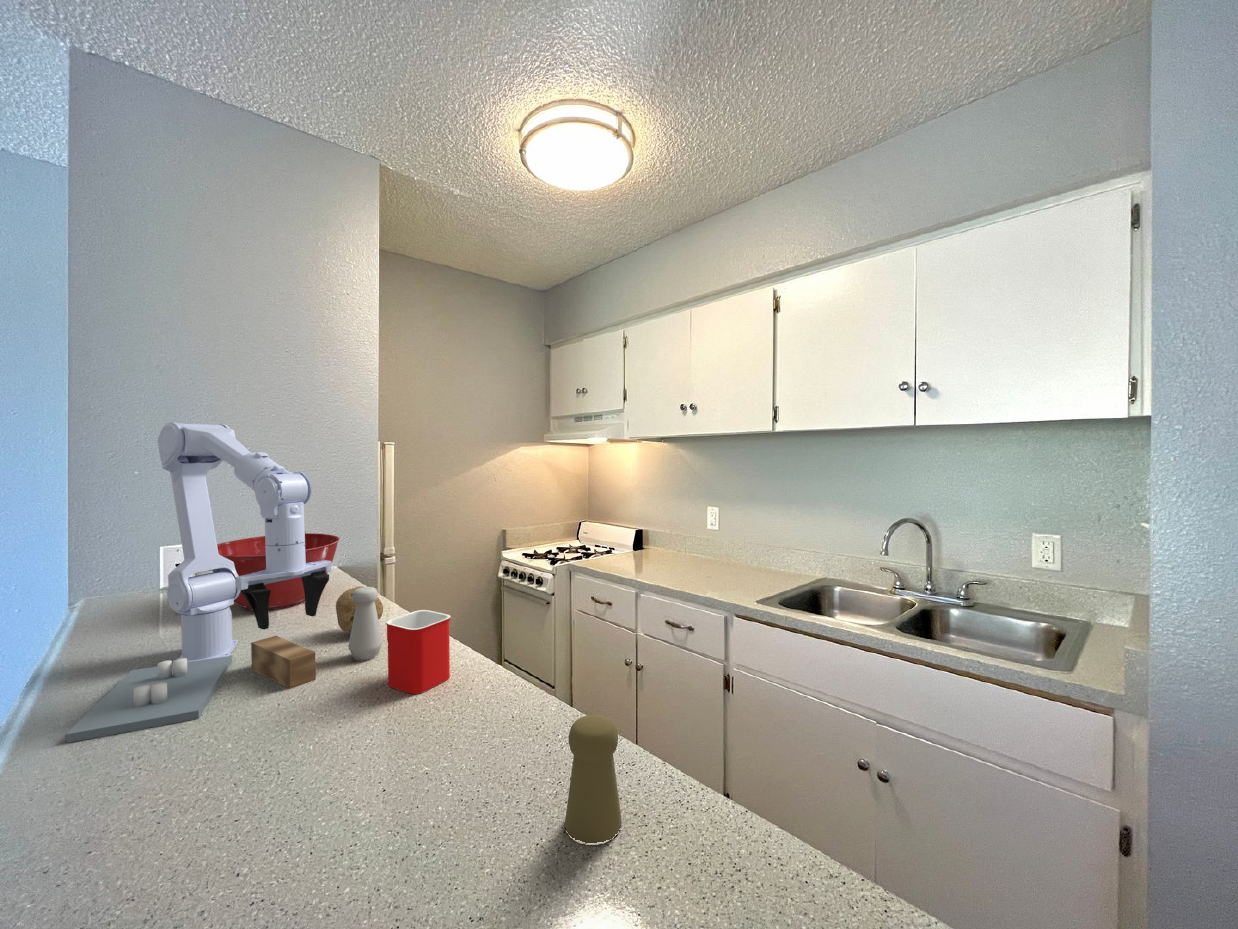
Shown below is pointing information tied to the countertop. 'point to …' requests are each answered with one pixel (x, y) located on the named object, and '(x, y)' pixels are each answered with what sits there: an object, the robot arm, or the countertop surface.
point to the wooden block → (283, 661)
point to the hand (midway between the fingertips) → (288, 621)
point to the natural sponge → (351, 609)
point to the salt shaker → (365, 625)
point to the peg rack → (154, 698)
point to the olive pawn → (593, 781)
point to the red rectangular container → (418, 651)
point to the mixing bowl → (253, 559)
